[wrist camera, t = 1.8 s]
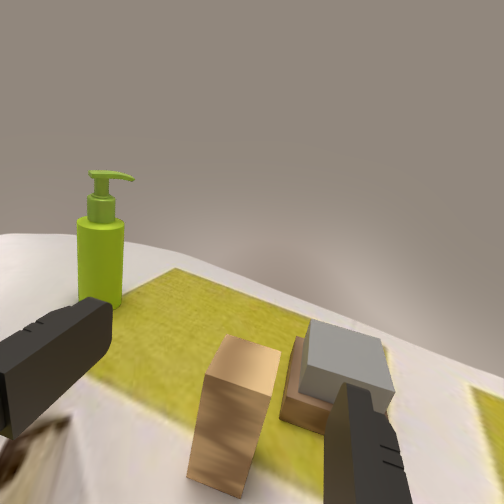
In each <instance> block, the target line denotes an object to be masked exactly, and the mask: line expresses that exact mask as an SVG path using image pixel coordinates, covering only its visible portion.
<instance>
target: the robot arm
mask: <svg viewBox="0 0 504 504" xmlns="http://www.w3.org/2000/svg"><path fill="white" fill-rule="evenodd" d="M112 318H113V307H112V304H111V303H108V302H105V301H102V300H99V299H96V298H93V297H86V298H84V299H83V300H81V301H80V302H78V303H76V304H75V305H73V306H72V307H71V306H67V307H64V308H61V309H58V310H54V311H51V312H50V313H48V314H46V315H45V316H43V317H41V318H39V319H38V320H36V322H35V323H31V324H29V325H28V326H26V327H24V328H23V330H22V331H21V330H19V331H18V332H16V333H14V334H13V335H11V336H9V337H8V338H6V339H4V340H3V341H1V342H0V435H2V436H5V437H7V438H9V439H12V440H15V439H16V438H17V437H18V436H19V435H20V434H21V433H22V432H23V431H24V430H25V429H26V428H27V427H28V426H30V425H31V424H32V423H33V422H34V421H35V420H36V419H37V418H38V417H39V416H40V415H41V414H42V413H43V412H44V411H46V410H47V409H48V408H49V407H50V406H51V405H52V404H53V403H54V402H55V401H56V400H57V399H58V398H59V397H61V396H62V395H63V394H64V393H65V392H66V391H67V390H68V389H69V388H70V387H71V386H72V385H73V384H74V383H76V382H77V381H78V380H79V379H80V378H81V377H82V376H83V375H84V374H85V373H86V372H87V371H88V370H89V369H90V368H92V367H93V366H94V365H95V364H96V363H97V362H98V361H99V360H100V359H101V358H102V357H103V356H104V355H105V354H106V352H107V351H108V349H109V347H110V344H111V340H112ZM324 504H413V503H412V498H411V494H410V490H409V486H408V482H407V478H406V473H405V472H404V465H403V461H402V457H401V455H400V448H399V444H398V440H397V436H396V432H395V431H394V429H393V428H392V426H391V424H390V423H389V421H388V419H387V418H386V416H385V415H384V414H381V413H379V412H376V411H374V409H373V404H372V398H371V393H370V391H369V390H367V389H364V388H361V387H358V386H355V385H352V384H349V383H346V382H343V383H342V385H341V387H340V390H339V392H338V394H337V397H336V399H335V402H334V404H333V406H332V409H331V411H330V414H329V416H328V419H327V423H326V427H325V434H324Z"/></svg>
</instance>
